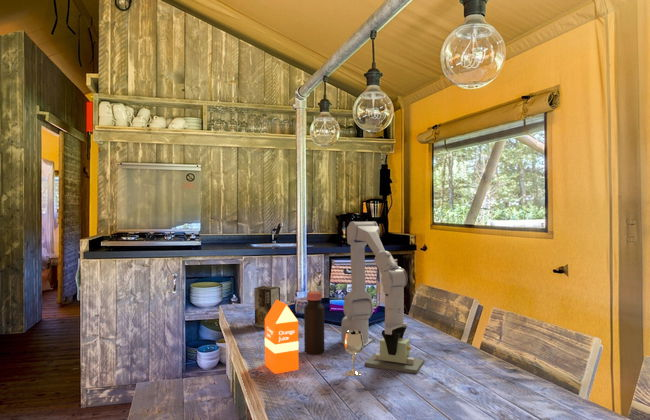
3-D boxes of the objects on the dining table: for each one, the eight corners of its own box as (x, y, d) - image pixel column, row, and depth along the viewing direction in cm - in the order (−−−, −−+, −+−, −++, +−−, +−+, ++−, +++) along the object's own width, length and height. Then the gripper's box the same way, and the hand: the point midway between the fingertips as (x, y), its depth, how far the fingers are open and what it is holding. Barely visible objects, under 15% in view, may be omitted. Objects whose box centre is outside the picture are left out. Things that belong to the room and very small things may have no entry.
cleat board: (364, 365, 135) (364, 357, 135) (374, 356, 144) (374, 348, 144) (416, 373, 129) (416, 365, 129) (423, 362, 138) (423, 354, 138)
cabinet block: (380, 359, 136) (380, 340, 136) (384, 354, 140) (384, 336, 140) (408, 364, 132) (408, 344, 132) (412, 358, 137) (412, 339, 137)
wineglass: (365, 371, 131) (365, 330, 131) (360, 378, 126) (360, 335, 126) (346, 368, 133) (346, 329, 133) (341, 375, 127) (341, 334, 127)
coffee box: (281, 326, 182) (281, 287, 182) (271, 329, 177) (271, 289, 177) (264, 323, 187) (264, 285, 187) (253, 326, 182) (253, 287, 182)
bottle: (327, 350, 151) (327, 291, 151) (319, 356, 144) (318, 295, 144) (310, 347, 153) (309, 290, 153) (300, 353, 147) (300, 293, 147)
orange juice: (274, 374, 129) (274, 305, 129) (264, 364, 137) (264, 300, 137) (299, 369, 133) (298, 303, 133) (287, 360, 140) (287, 297, 140)
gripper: (401, 314, 128) (401, 360, 128) (412, 304, 141) (412, 346, 142) (377, 312, 131) (378, 357, 131) (391, 302, 144) (391, 344, 144)
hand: (394, 351), depth 137 cm, fingers closed on cabinet block, 5 cm apart
